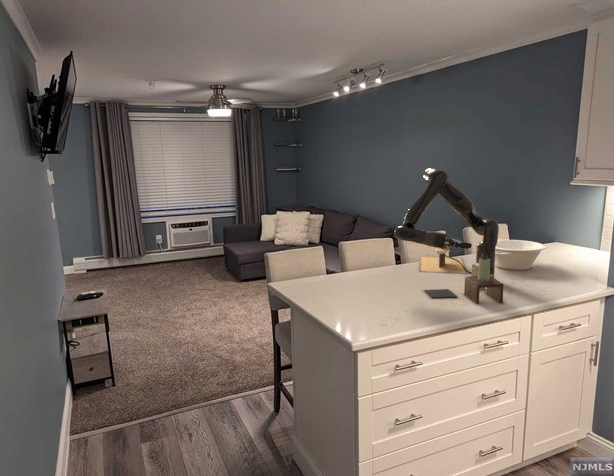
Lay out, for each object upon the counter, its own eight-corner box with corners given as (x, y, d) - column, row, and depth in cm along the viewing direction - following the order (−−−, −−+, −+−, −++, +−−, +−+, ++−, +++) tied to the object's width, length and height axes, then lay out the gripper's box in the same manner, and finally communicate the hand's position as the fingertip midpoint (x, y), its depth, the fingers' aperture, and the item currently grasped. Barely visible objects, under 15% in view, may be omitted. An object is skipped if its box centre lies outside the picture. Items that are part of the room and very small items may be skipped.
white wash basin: (502, 256, 283) (503, 236, 281) (557, 265, 257) (559, 243, 255) (467, 268, 256) (468, 246, 253) (525, 278, 230) (526, 254, 228)
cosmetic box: (470, 286, 218) (471, 263, 216) (477, 285, 220) (478, 262, 218) (479, 290, 213) (480, 266, 211) (486, 289, 214) (487, 265, 212)
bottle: (476, 278, 200) (477, 253, 198) (486, 278, 200) (487, 253, 198) (480, 281, 196) (481, 256, 193) (491, 281, 196) (492, 255, 194)
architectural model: (466, 273, 245) (467, 239, 242) (420, 271, 252) (421, 238, 248) (461, 258, 281) (462, 228, 278) (421, 257, 288) (422, 228, 285)
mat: (424, 290, 214) (424, 290, 214) (448, 290, 214) (448, 289, 214) (431, 298, 202) (431, 297, 202) (457, 297, 202) (457, 296, 202)
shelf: (464, 294, 206) (464, 276, 205) (488, 293, 207) (489, 275, 205) (476, 304, 192) (477, 284, 191) (502, 303, 193) (503, 283, 191)
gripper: (433, 232, 202) (469, 239, 194) (440, 231, 214) (473, 238, 206) (430, 247, 203) (466, 255, 195) (437, 246, 215) (470, 253, 207)
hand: (470, 246), depth 201 cm, fingers open, 8 cm apart
